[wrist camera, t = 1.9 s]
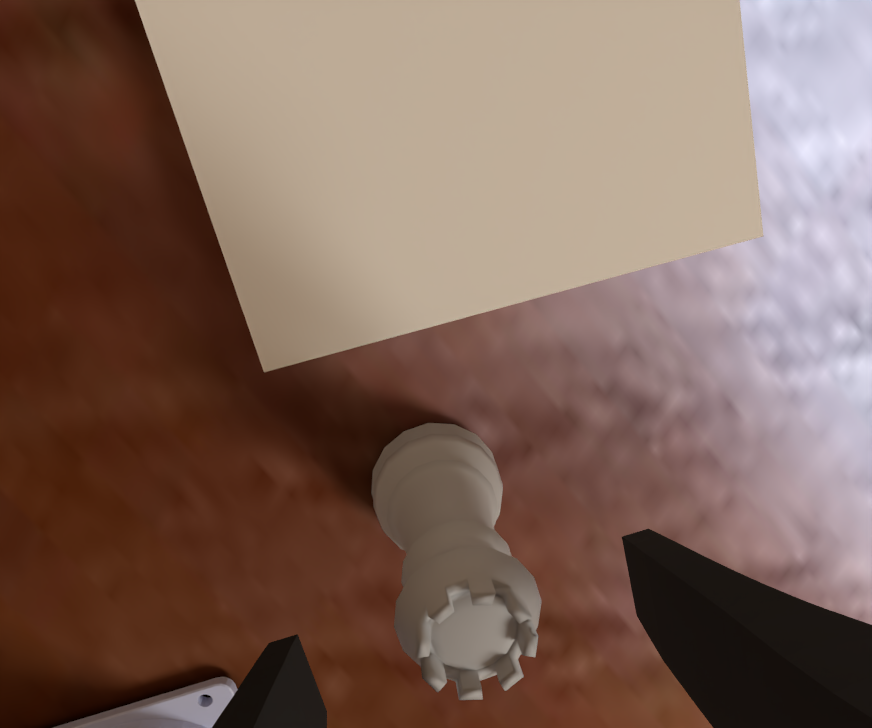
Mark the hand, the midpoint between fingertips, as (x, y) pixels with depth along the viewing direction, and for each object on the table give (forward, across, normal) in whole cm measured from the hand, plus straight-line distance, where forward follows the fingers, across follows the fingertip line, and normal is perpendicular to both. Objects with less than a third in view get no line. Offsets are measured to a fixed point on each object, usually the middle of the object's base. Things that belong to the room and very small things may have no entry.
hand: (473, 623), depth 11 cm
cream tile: (+7, -4, -11) cm, 14 cm away
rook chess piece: (+8, 0, 0) cm, 8 cm away
